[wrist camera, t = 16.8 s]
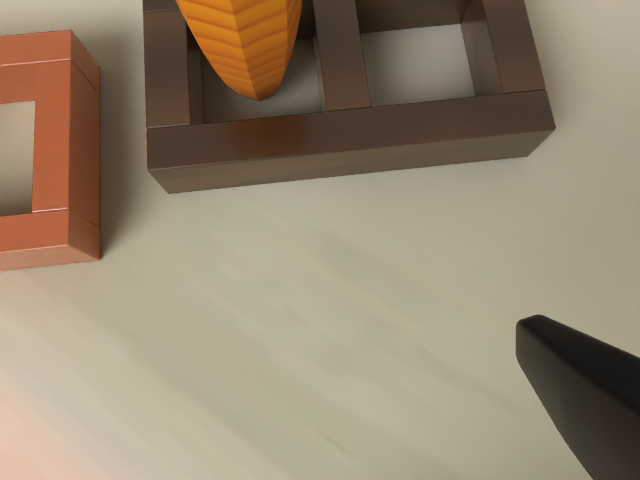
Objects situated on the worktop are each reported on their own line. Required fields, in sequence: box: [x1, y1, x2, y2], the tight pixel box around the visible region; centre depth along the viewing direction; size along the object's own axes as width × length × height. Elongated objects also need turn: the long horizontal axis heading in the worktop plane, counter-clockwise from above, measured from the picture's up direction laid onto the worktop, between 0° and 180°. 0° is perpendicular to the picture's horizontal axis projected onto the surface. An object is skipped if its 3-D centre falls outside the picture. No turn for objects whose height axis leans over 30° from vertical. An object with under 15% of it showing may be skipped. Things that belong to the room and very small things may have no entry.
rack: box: [143, 0, 556, 194], centre depth 24 cm, size 10×18×3 cm, turn 96°
